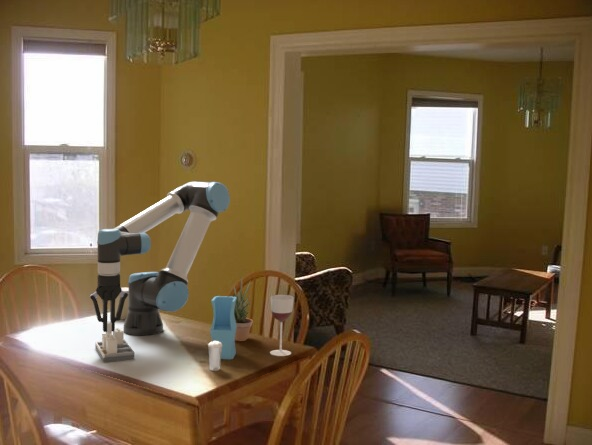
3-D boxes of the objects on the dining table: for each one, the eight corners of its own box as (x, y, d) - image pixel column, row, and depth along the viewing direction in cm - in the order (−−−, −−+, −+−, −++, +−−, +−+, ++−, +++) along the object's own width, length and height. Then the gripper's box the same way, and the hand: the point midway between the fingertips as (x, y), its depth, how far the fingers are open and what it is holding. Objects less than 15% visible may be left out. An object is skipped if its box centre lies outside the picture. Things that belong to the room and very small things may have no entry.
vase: (209, 358, 211) (210, 300, 209) (213, 351, 219) (215, 295, 217) (232, 359, 211) (234, 301, 209) (236, 352, 218) (237, 296, 217)
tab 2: (114, 351, 210) (115, 335, 209) (117, 354, 206) (117, 338, 206) (105, 352, 208) (105, 336, 208) (107, 355, 205) (107, 339, 204)
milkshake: (205, 367, 202) (206, 336, 201) (222, 367, 202) (222, 337, 201) (204, 371, 197) (205, 340, 196) (221, 371, 198) (222, 340, 197)
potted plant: (257, 340, 235) (258, 275, 233) (235, 343, 230) (237, 277, 228) (243, 334, 243) (244, 271, 241) (221, 337, 238) (223, 273, 236)
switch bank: (124, 345, 223) (124, 339, 222) (134, 359, 208) (134, 352, 207) (95, 348, 218) (95, 342, 218) (103, 362, 203) (103, 355, 203)
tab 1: (111, 347, 214) (111, 332, 214) (113, 350, 211) (113, 334, 210) (102, 347, 213) (102, 332, 212) (103, 351, 209) (104, 335, 209)
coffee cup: (139, 317, 266) (139, 289, 265) (120, 320, 258) (120, 292, 257) (125, 313, 272) (126, 286, 271) (107, 316, 264) (107, 289, 263)
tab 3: (121, 342, 221) (121, 327, 220) (123, 344, 217) (123, 329, 217) (112, 342, 219) (112, 328, 219) (114, 345, 216) (114, 330, 216)
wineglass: (295, 350, 223) (296, 295, 221) (286, 357, 215) (288, 300, 213) (274, 348, 225) (275, 293, 224) (265, 354, 217) (267, 298, 216)
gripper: (125, 271, 221) (125, 336, 223) (87, 273, 215) (87, 339, 217) (130, 274, 214) (129, 341, 216) (90, 276, 209) (90, 345, 211)
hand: (108, 340), depth 217 cm, fingers closed
